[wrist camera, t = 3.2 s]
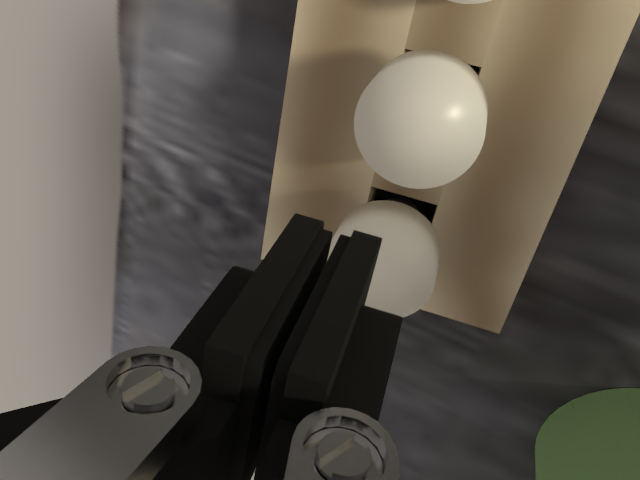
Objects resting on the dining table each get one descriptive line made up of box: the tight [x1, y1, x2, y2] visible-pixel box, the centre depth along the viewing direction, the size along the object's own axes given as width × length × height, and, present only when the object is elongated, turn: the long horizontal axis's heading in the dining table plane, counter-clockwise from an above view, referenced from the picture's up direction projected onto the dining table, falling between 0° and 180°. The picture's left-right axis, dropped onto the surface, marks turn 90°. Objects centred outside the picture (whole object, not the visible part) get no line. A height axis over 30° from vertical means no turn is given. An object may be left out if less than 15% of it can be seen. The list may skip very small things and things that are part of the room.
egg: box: [327, 197, 441, 317], centre depth 25 cm, size 4×4×5 cm
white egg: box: [354, 49, 488, 189], centre depth 22 cm, size 4×4×5 cm
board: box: [261, 0, 640, 334], centre depth 23 cm, size 12×26×3 cm, turn 170°
